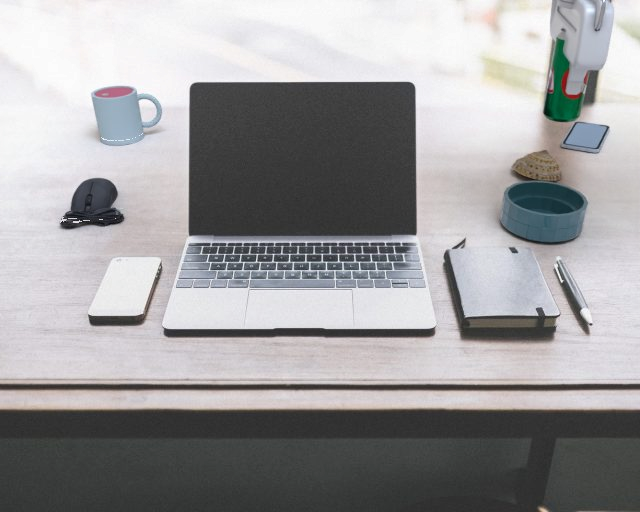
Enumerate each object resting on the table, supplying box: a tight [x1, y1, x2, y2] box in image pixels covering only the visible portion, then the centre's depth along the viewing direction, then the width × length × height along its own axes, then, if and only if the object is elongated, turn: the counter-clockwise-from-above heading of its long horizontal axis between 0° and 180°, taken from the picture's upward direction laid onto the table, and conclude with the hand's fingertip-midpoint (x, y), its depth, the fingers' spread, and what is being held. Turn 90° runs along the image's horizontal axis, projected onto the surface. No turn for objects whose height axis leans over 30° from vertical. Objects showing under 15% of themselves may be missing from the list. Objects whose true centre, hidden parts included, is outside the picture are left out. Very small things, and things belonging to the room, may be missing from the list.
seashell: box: [511, 149, 563, 182], centre depth 113 cm, size 8×6×8 cm
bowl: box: [499, 180, 589, 244], centre depth 96 cm, size 12×12×5 cm
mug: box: [90, 85, 163, 146], centre depth 132 cm, size 14×9×10 cm
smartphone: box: [560, 120, 611, 154], centre depth 129 cm, size 7×1×15 cm
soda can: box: [542, 28, 591, 123], centre depth 85 cm, size 5×5×12 cm
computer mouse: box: [59, 177, 125, 228], centre depth 104 cm, size 10×15×4 cm
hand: (567, 86), depth 86 cm, fingers closed on soda can, 5 cm apart
